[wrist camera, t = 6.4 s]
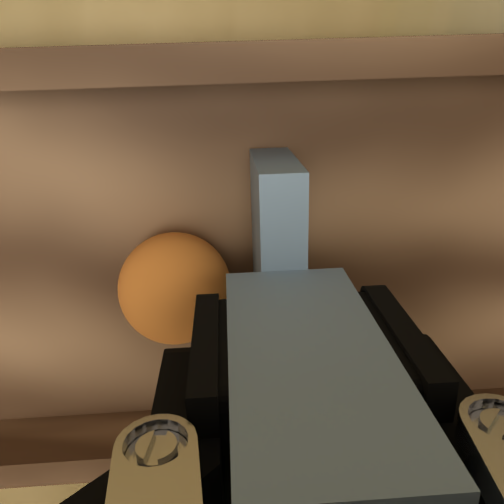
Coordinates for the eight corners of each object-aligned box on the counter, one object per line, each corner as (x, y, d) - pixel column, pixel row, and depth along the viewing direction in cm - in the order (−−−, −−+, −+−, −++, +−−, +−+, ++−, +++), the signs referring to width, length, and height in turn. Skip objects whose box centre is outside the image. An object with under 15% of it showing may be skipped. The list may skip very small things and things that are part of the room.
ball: (232, 308, 17) (235, 363, 14) (135, 313, 17) (114, 371, 14) (227, 216, 16) (229, 252, 13) (122, 220, 16) (97, 259, 13)
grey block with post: (311, 361, 18) (432, 748, 8) (232, 366, 18) (246, 766, 8) (315, 146, 15) (515, 306, 5) (221, 149, 15) (220, 322, 5)
